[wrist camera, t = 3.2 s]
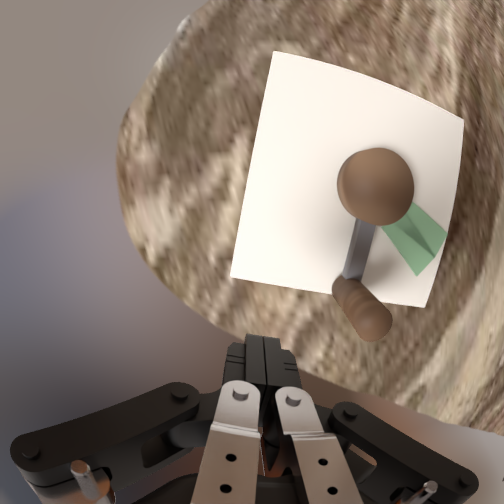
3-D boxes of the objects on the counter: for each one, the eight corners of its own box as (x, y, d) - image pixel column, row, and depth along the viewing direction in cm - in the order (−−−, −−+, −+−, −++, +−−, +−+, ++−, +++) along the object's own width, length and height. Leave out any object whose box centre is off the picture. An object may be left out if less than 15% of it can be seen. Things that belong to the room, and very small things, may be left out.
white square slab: (271, 63, 23) (273, 49, 20) (447, 123, 24) (465, 119, 21) (232, 266, 28) (229, 277, 24) (411, 296, 29) (426, 308, 25)
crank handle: (343, 141, 21) (379, 127, 15) (405, 161, 22) (454, 159, 15) (309, 296, 25) (328, 337, 18) (370, 305, 25) (403, 344, 18)
